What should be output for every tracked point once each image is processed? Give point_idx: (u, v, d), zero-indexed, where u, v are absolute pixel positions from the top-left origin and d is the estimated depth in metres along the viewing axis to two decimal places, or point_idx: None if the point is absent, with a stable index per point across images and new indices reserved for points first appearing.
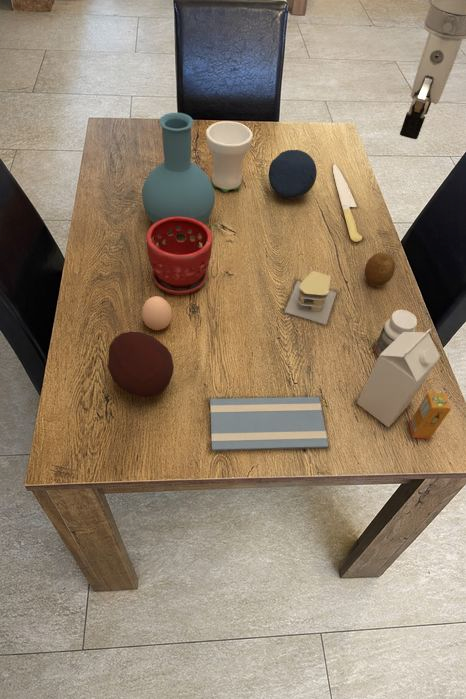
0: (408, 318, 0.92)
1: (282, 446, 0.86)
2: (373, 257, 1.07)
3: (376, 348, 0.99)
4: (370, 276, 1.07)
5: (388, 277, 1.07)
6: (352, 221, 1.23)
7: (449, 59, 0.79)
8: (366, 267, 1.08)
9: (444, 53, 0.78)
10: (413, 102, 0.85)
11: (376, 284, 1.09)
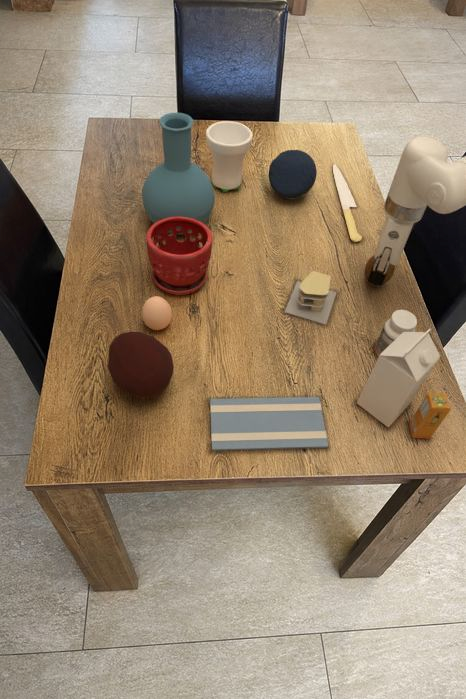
0: (408, 318, 0.92)
1: (282, 446, 0.86)
2: (373, 257, 1.07)
3: (376, 348, 0.99)
4: None
5: (388, 277, 1.07)
6: (352, 221, 1.23)
7: (404, 237, 0.95)
8: (366, 267, 1.08)
9: (399, 233, 0.95)
10: (376, 263, 1.03)
11: None
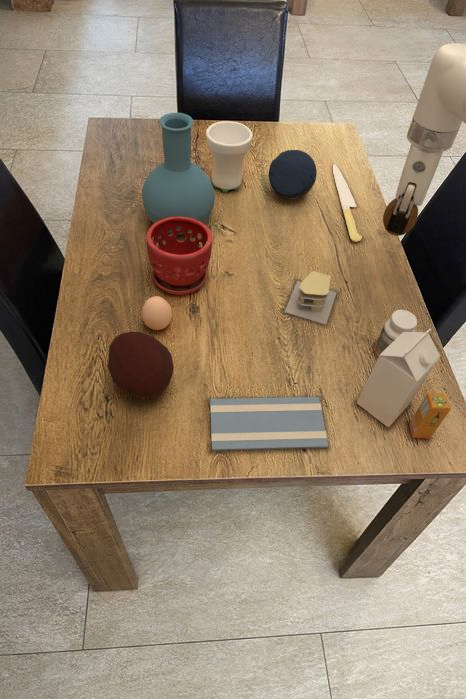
0: (408, 318, 0.92)
1: (282, 446, 0.86)
2: (393, 201, 0.93)
3: (376, 348, 0.99)
4: None
5: (410, 224, 0.93)
6: (352, 221, 1.23)
7: (431, 169, 0.82)
8: (385, 213, 0.95)
9: (426, 164, 0.82)
10: (397, 204, 0.89)
11: (396, 233, 0.95)
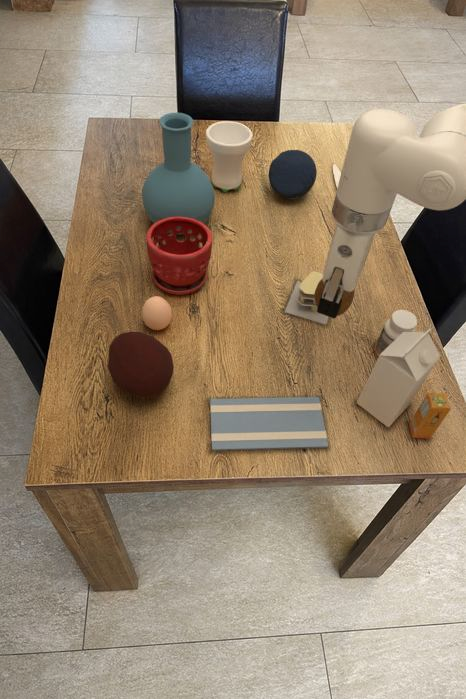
0: (408, 318, 0.92)
1: (282, 446, 0.86)
2: None
3: (376, 348, 0.99)
4: None
5: (345, 306, 0.79)
6: None
7: (359, 255, 0.67)
8: (316, 292, 0.80)
9: (352, 249, 0.67)
10: (326, 288, 0.75)
11: None
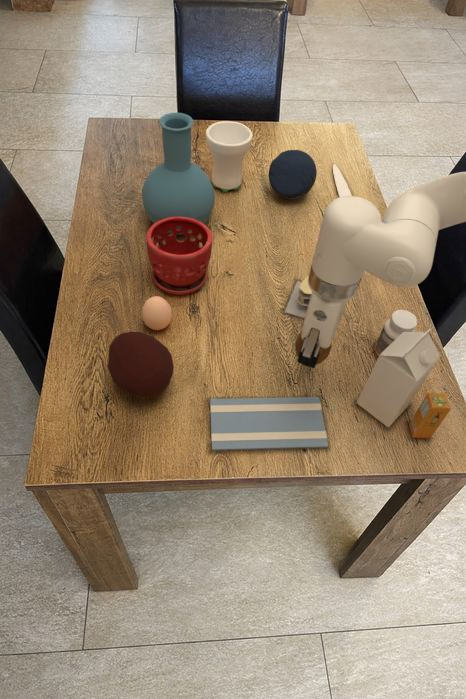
0: (408, 318, 0.92)
1: (282, 446, 0.86)
2: None
3: (376, 348, 0.99)
4: None
5: (322, 357, 0.86)
6: None
7: (332, 319, 0.74)
8: (296, 343, 0.87)
9: (327, 314, 0.74)
10: (305, 343, 0.82)
11: None
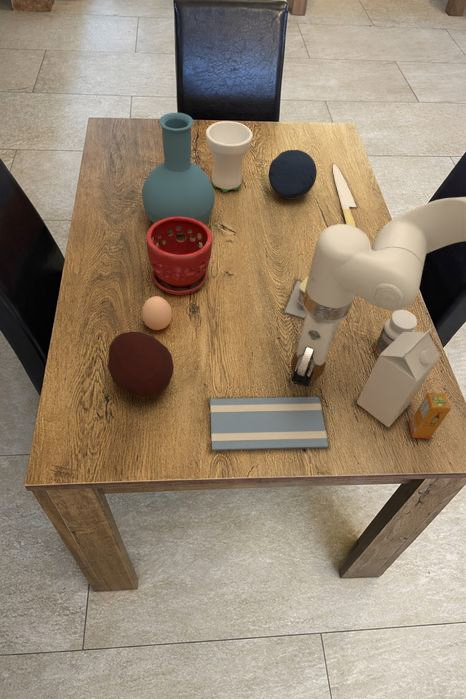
0: (408, 318, 0.92)
1: (282, 446, 0.86)
2: None
3: (376, 348, 0.99)
4: None
5: (317, 375, 0.90)
6: (352, 221, 1.23)
7: (326, 338, 0.78)
8: (292, 362, 0.92)
9: (320, 334, 0.78)
10: (299, 361, 0.84)
11: None
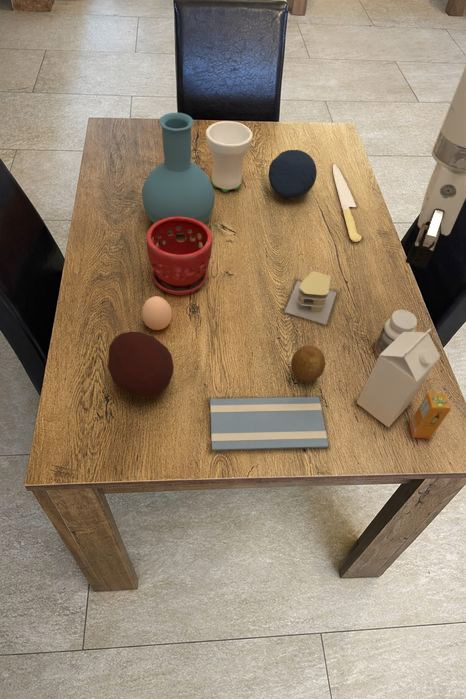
0: (408, 318, 0.92)
1: (282, 446, 0.86)
2: (299, 351, 0.90)
3: (376, 348, 0.99)
4: (296, 373, 0.91)
5: (317, 375, 0.90)
6: (352, 221, 1.23)
7: (463, 194, 0.68)
8: (292, 362, 0.92)
9: (457, 188, 0.68)
10: (421, 233, 0.74)
11: (304, 381, 0.92)
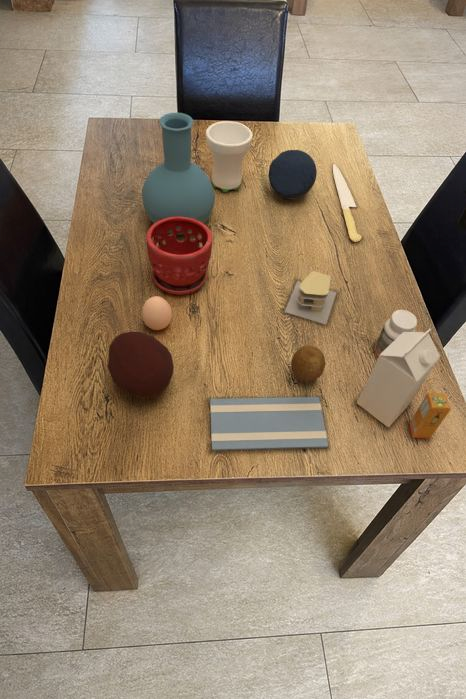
0: (408, 318, 0.92)
1: (282, 446, 0.86)
2: (299, 351, 0.90)
3: (376, 348, 0.99)
4: (296, 373, 0.91)
5: (317, 375, 0.90)
6: (351, 221, 1.23)
7: None
8: (292, 362, 0.92)
9: None
10: None
11: (304, 381, 0.92)
